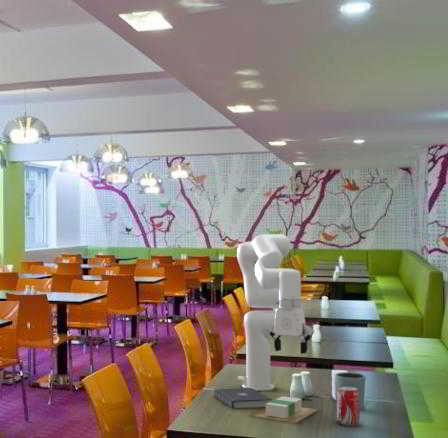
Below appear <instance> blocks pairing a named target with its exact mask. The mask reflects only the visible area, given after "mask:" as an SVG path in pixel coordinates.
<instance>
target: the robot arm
mask: <svg viewBox="0 0 448 438" xmlns="http://www.w3.org/2000/svg"><path fill="white" fill-rule="evenodd" d="M291 247H292V246H291V241H290V238H289V237H288V236H286V235H285V234H283V233H265V234H264V233H263V234H258V235H257V236H255V237H254V238H253V239H252V241H245V242H242V243H240V244H238V246H237V249H236V257H237V258H236V259H237V262H238V264H239V268H240V271H241V273H242V277H243V288H244V298H245V302H246V305H247V306H248V307H249V308H255V309H273V310H251V311H248V312H246V313H245V315H244V317H243V326H244V332H245V342H246V344H245V349H246V351H245V353H246V355H245V359H246V361H245V362H246V363H245V364H246V369H245V372H246V373H245V374H246V375H244V376H243V375H237V377H236V378H237V381H238V382H243V383H242V388H252V389H254V390H256V391H258V392H264V391H266V392H267V391H273V390H275V385H274V384H271V381H272V380H271V379H272V378H271V377H272V376H271V344H270V342H269V341H268V339H267V338H266V337H265V336H266V335H270V336H271V338H272V340H274V341H273V342H274V343H273V344H274V346H273V347H274V352H280V351H281V350H282V339H281V337H282V336H283V337H294V338H296V337H298V338H299V340H301V342H300V354H307V351H308V342H309V341H310V340H311V339H312V337H313V335H314V333H315V330H314V329H313V328H312V327H310V326H308V325H306V317H305V312H304V308H303V307H302V281H301V279H302V278H301V277H302V276H301V271H299V270H298V269H295V268H280V267H279V266H281V264H282V262H283V259H284V258H286V257H287V256H288V255H289V254H290V252H291ZM278 267H279V268H278ZM306 332H308V333H307V335H306Z"/></svg>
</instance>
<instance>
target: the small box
mask: <svg viewBox="0 0 448 438" xmlns="http://www.w3.org/2000/svg"><path fill="white" fill-rule="evenodd" d="M343 372H349V371H348V370H344V369H331V396H332V398H333V399H334V400H335V401H337V380H336V374H337V373H343Z"/></svg>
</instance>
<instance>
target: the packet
mask: <svg viewBox="0 0 448 438" xmlns="http://www.w3.org/2000/svg"><path fill="white" fill-rule="evenodd" d="M302 403H303V401H302V398H297V397H292V396H291V397H290V396H283V395H282V396H280V397H277V398H276V399H275V398H274V399H272V400H270V401H268V403H267V404H266V416H272V417H279V418H287V417H290V416H291V415H293V414H295V413H297V412H299V411H301V410H302V408H303V407H302Z"/></svg>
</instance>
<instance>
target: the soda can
mask: <svg viewBox="0 0 448 438" xmlns="http://www.w3.org/2000/svg"><path fill="white" fill-rule="evenodd" d="M336 419H337V423H339V424H340V425H342V426H345V427H354V426H357V425H358V424H360V409H359V393H358V391H357V388H354V387H347V386H343V387H339V390H338V392H337V400H336Z"/></svg>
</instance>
